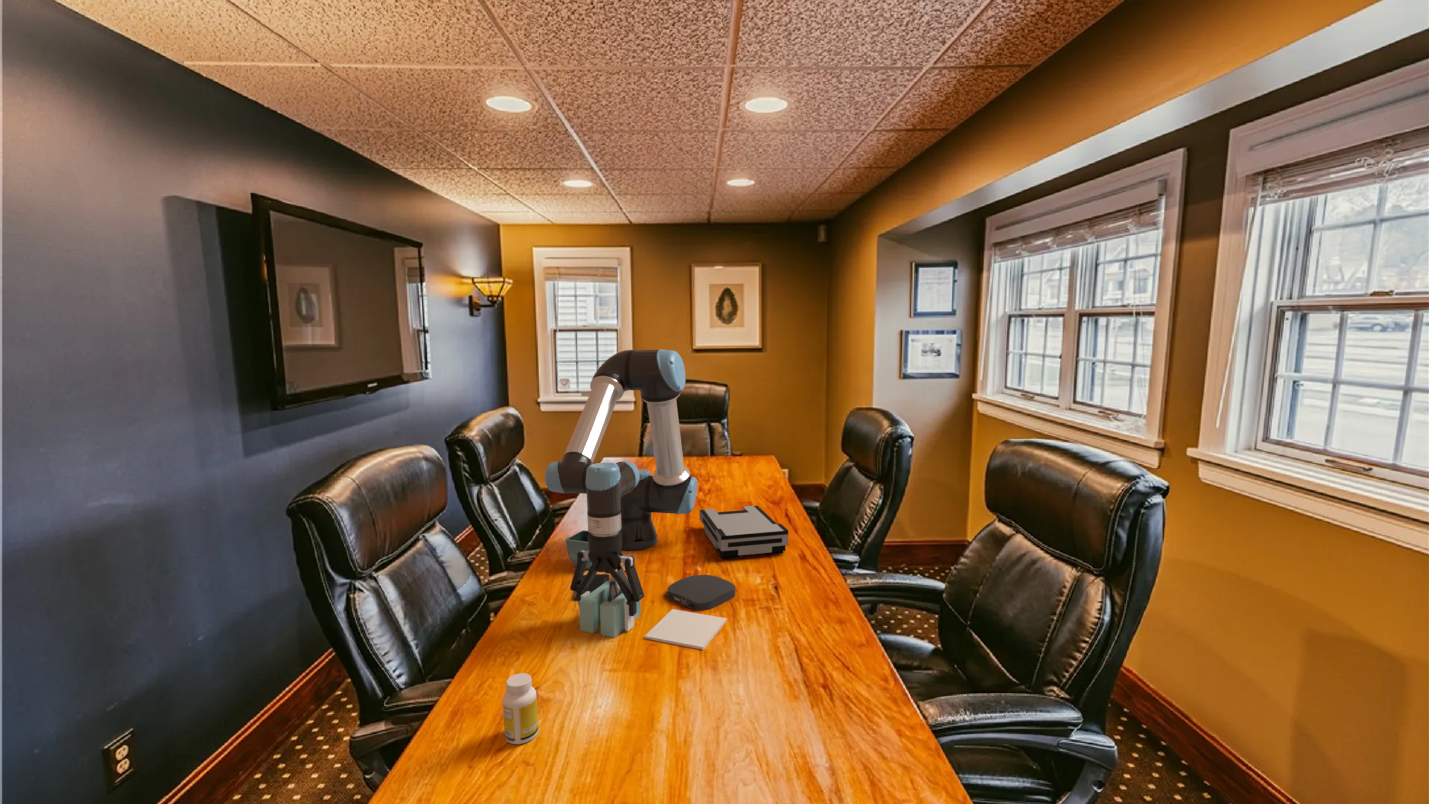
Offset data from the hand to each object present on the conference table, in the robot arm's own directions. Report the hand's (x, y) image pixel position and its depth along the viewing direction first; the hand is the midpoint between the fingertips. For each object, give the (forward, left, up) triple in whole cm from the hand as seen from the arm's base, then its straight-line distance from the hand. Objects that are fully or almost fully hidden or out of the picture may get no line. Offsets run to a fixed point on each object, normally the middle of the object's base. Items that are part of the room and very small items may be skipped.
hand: (607, 624), depth 139 cm
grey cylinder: (-4, 0, 0) cm, 4 cm away
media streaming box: (-23, +14, -1) cm, 27 cm away
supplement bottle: (+38, +7, 0) cm, 39 cm away
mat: (-5, +18, 0) cm, 19 cm away
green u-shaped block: (-2, 0, 0) cm, 2 cm away
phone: (-17, -15, -1) cm, 22 cm away
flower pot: (-30, -25, 0) cm, 39 cm away
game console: (-65, +10, -1) cm, 65 cm away
